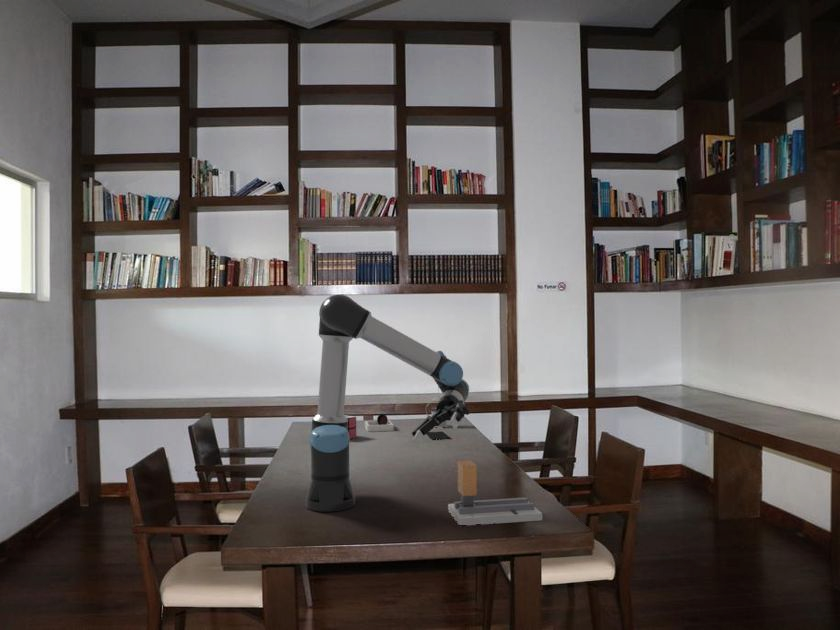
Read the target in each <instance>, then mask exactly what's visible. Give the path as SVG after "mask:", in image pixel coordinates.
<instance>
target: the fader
mask: <svg viewBox="0 0 840 630" xmlns="http://www.w3.org/2000/svg"><path fill="white" fill-rule="evenodd" d="M477 467H478V466H477V464H475V462H473V460H458V461H457V491H458V493H460V501H461V504H459V507H468V506H476V505H475V504H474V501H475V499H474V496H477V493H478V491H477V490H478V489H477V483H478V482H477V481H478V480H477V479H478V478H477V476H478V475H477V471H478V469H477Z"/></svg>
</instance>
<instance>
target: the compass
mask: <svg viewBox="0 0 840 630" xmlns="http://www.w3.org/2000/svg"><path fill="white" fill-rule="evenodd" d="M376 419H377V420H376V421H377V422H378V424H379V425H386V424H387V421H388V417H387V415H386V414H385V413H380V414H379V415H378V416H377V418H376Z"/></svg>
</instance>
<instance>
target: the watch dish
mask: <svg viewBox="0 0 840 630" xmlns="http://www.w3.org/2000/svg"><path fill="white" fill-rule="evenodd" d="M364 428H365V429H366V432H370V433H371V432H390V431H391V432H393V431H394V430H395V429H394V428H395V427H394V424H393V422H392V421H391V420H390V419H389V420H388V421H387V424H386V425H379V424H378V422H377V420H365V421H364Z"/></svg>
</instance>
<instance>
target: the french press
mask: <svg viewBox="0 0 840 630" xmlns="http://www.w3.org/2000/svg"><path fill="white" fill-rule="evenodd" d="M437 387H438V392H437V393H438V396H435V397H433V398H432V399H430V401H431V402H428V403H427V404H426V406H425V409H427V407H428V406H429V405H430V406H432V402H436V403H438V402H439V400H440V398H441V397H442V396H440V393H439V392H440V388H439V386H438V385H437ZM425 413H426V415H427V417H428V416H430V417H432V416H433V415H434V414H435V413H436V406H433V407H431V415H429V414H428V412H427V411H425ZM437 423H438V421H437ZM447 426H448V425H447V420H446V421H445V422H442V423H441V424H440V425H439V426H435V427H447ZM447 428H448V427H447Z"/></svg>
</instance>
